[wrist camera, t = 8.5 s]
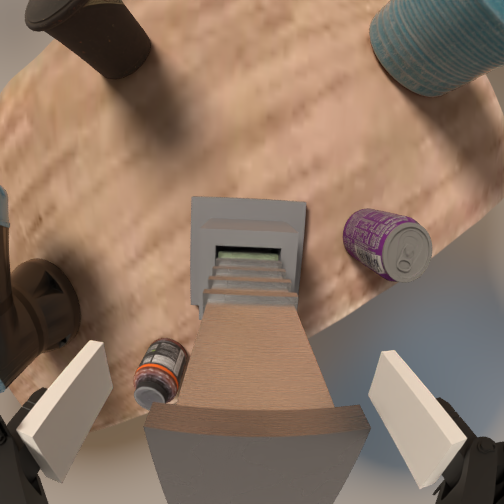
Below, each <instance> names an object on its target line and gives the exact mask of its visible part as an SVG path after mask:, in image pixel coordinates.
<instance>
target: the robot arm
mask: <svg viewBox="0 0 504 504" xmlns="http://www.w3.org/2000/svg"><path fill="white" fill-rule="evenodd" d="M9 227H10V223H9V219H8V195H7V192H6V190H5V189H4V188H3V187H2V186H1V185H0V393H1V392H4V391H5V389H6V388H7V387H8V386H9V385H10V384H11V383H12V382H13V381H14V380H15V379H16V378H17V377H18V376H19V375H20V374H21V373H22V372H23V371H24V369H25V368H26V367H27V366H28V365H29V364H30V363H31V362H32V361H33V360H34V359H35V358H36V357H37V356H39V355H40V354H41V353H45V352H48V351H51V350H55V349H58V348H61V347H63V346H65V345H66V344H67V343H68V342H69V341H71V340H72V339H73V338H74V336H75V335H76V334H77V332H78V329H79V326H80V307H79V303H78V299H77V296H76V294H75V291H74V289H73V287H72V285H71V283H70V282H69V280H68V279H67V277H66V276H65V275H64V274H63V273H62V271H61V270H60V269H59V268H57V267H56V266H55V265H54V264H52V263H50V262H49V261H46V260H43V259H31V260H28V261H26V262H24V263H22V264H20V265H19V266H17V267H16V268H15V270H14V271H13V272H12V273H11V274H10V262H9ZM112 389H113V384H112V380H111V376H110V372H109V367H108V362H107V358H106V353H105V347H104V342H98V341H92V340H90V341H89V342H88V343H87V344H86V345H85V346H84V347H83V349H82V350H81V351H80V352H79V353H78V354H77V355H76V357H75V358H74V359H73V360H72V361H71V362H70V363H69V365H68V366H67V367H66V368H65V369H64V370H63V372H62V373H61V374H60V375H59V376H58V378H57V379H56V380H55V381H54V382H53V384H52V385H51V386H50V387H49V388H48V389H46V388H43V387H42V388H41V389H39V390H37V391H36V392H34V393H33V394H32V395H31V396H30V398H29V399H28V401H27V402H25V404H24V405H23V407H21V408H20V410H19V411H18V412H17V413H16V414H15V416H14V417H13V418H12V419H11V421H10V422H9V423H8V424H7V426H6V424H5V422H4V421H3V419H2V417H1V415H0V504H48V501H47V498H46V495H45V492H44V489H43V486H42V483H41V480H40V478H39V476H38V474H37V473H38V471H39V470H40V469H41V470H42V471H43V473H44V474H45V476H46V477H48V478H50V479H52V480H55V481H57V482H60V483H63V481H64V479H65V477H66V475H67V473H68V471H69V469H70V467H71V465H72V463H73V461H74V459H75V457H76V455H77V453H78V451H79V449H80V447H81V446H82V444H83V442H84V440H85V438H86V436H87V434H88V432H89V431H90V429H91V427H92V425H93V423H94V421H95V420H96V418H97V416H98V414H99V412H100V410H101V409H102V407H103V405H104V403H105V401H106V400H107V398H108V396H109V394H110V393H111V391H112ZM368 396H369V398H370V399H371V401H372V403H373V405H374V406H375V408H376V410H377V412H378V413H379V415H380V417H381V419H382V420H383V422H384V424H385V426H386V428H387V429H388V431H389V433H390V435H391V437H392V438H393V440H394V442H395V444H396V446H397V448H398V449H399V451H400V453H401V455H402V457H403V458H404V460H405V462H406V464H407V466H408V468H409V470H410V472H411V473H412V475H413V477H414V479H415V481H416V483H417V485H418V487H419V489H421V488H424V487H426V486H429V485H431V484H434V483H435V482H436V481H437V480H438V478H439V477H440V476H441V475H442V476H443V477H444V481H443V482H442V483H441V484H440V485H439V487H438V488H437V489H436V490H435V492H434V493H433V495H435V494H436V493H437V492H438V491H439V490H440V491H439V494H438V498H437V500H436V504H504V442H498V443H495V442H494V441H493V440H492V439H490V438H487V437H477V436H476V435H475V434H474V433H473V432H472V430H471V429H470V428H469V427H468V425H467V424H466V423H465V422H464V421H463V419H462V418H461V417H459V415H458V414H457V412H455V410H454V409H453V407H451V405H450V404H449V403H448V402H446V401H445V400H443V399H441V398H436V399H435V397H434V396H433V395H432V394H431V393H430V392H429V390H428V389H427V388H426V387H425V385H424V384H423V383H422V382H421V381H420V380H419V378H418V377H417V376H416V375H415V374H414V373H413V371H412V370H411V369H410V368H409V367H408V366H407V364H406V363H405V362H404V361H403V360H402V359H401V357H400V356H399V355H398V354H397V353H396V352H395V350H393V351H382V352H381V355H380V359H379V362H378V365H377V369H376V372H375V375H374V379H373V382H372V385H371V388H370V391H369V394H368Z"/></svg>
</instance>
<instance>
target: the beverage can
mask: <svg viewBox="0 0 504 504" xmlns="http://www.w3.org/2000/svg"><path fill="white" fill-rule="evenodd" d="M343 242H344V246H345V248H346V250H347V251H348V253H349V254H350V255H351V256H352V257H354V258H355V259H357V260H358V261H360V262H361V263H363V264H364V265H365V266H367V267H368V268H370V269H371V270H373V271H374V272H376V273H377V274H379V275H380V276H382V277H383V278H385V279H387V280H389V281H395V282H404V283H406V282H411V281H413V280H416V279H417V278H419V277H420V276H421V275H422V274H423V273H424V272H425V270H426V269H427V267H428V265H429V263H430V260H431V256H432V242H431V238H430V236H429V234H428V232H427V231H426V229H425V228H424V227H422V226H421V225H420V224H419V223H418V222H417V221H415V220H414V219H412V218H410V217H407V216H402V215H398V214H393V213H388V212H384V211H379V210H374V209H362V210H359V211H357V212H355V213H354V214H353V215H352V216H351V217H350V218H349V219H348V221H347V222H346V224H345V227H344V231H343Z"/></svg>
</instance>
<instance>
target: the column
mask: <svg viewBox="0 0 504 504" xmlns="http://www.w3.org/2000/svg"><path fill="white" fill-rule="evenodd" d="M291 285H292V282H291V280H290V279H286V270H285V269H282V262H281V261H278V254H272V252H261V251H239V250H224V251H219V253H218V258H216V266H213V268H212V276H209V278H208V289H204V291H203V317H202V320H201V324H200V327H199V330H198V333H197V337H196V340H195V343H194V346H193V350H192V353H191V356H190V360H189V363H188V366H187V370H186V373H185V377H184V380H183V383H182V387H181V390H180V394H179V397H178V401H177V404H176V405H173V404H165V403H158V402H153V403H152V406H151V408H150V411H149V413H148V416H147V419H146V422H145V424H144V430H145V433H146V438H147V441H148V445H149V448H150V452H151V455H152V459H153V462H154V465H155V468H156V471H157V474H158V477H159V480H160V483H161V486H162V489H163V492H164V494H165V497H166V500H167V503H168V504H333V502H334V501H335V499H336V497H337V496H338V494H339V492H340V490H341V489H342V487H343V485H344V483H345V481H346V479H347V478H348V476H349V474H350V472H351V470H352V468H353V466H354V464H355V462H356V460H357V458H358V456H359V454H360V452H361V449H362V447H363V445H364V443H365V441H366V439H367V436H368V434H369V432H370V429H371V427H370V425H369V423H368V421H367V419H366V417H365V415H364V413H363V410H362V409H361V407H360V405H354V406H343V407H334V404H333V402H332V399H331V397H330V394H329V391H328V389H327V386H326V384H325V381H324V379H323V376H322V373H321V371H320V369H319V366H318V364H317V361H316V359H315V356H314V354H313V351H312V348H311V346H310V343H309V341H308V338H307V336H306V334H305V331H304V329H303V326H302V324H301V321H300V319H299V316H298V314H297V306H298V295H297V293H292V292H291Z"/></svg>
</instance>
